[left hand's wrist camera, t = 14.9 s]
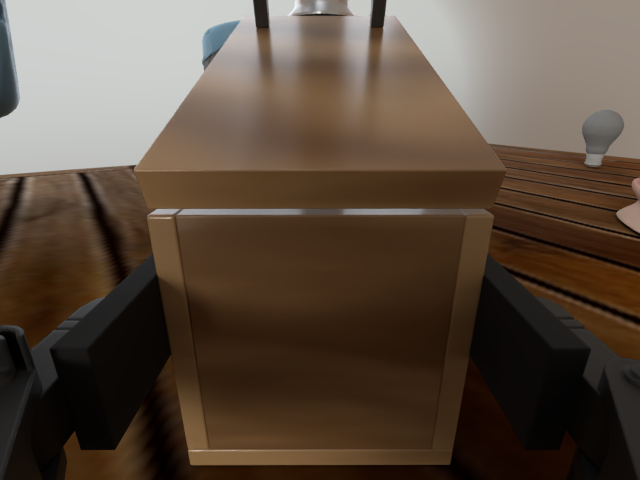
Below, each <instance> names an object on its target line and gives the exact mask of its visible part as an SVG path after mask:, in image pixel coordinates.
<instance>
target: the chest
mask: <svg viewBox="0 0 640 480" xmlns="http://www.w3.org/2000/svg"><path fill="white" fill-rule="evenodd" d="M493 220H494V216H493V215H492V214H491V213H489V212H488V211H486V210H485V209H156V210H155V211H154V212H152V213H151V214H149V215H148V216H147V221H148V227H149V233H150V238H151V244H152V250H153V255H154V261H155V267H156V272H157V278H158V283H159V289H160V295H161V300H162V306H163V312H164V317H165V323H166V329H167V334H168V340H169V345H170V351H171V357H172V362H173V368H174V374H175V379H176V385H177V391H178V396H179V402H180V407H181V413H182V419H183V424H184V430H185V436H186V441H187V447H188V454H189V459H190V464H191V465H449V464H450V462H451V457H452V451H453V449H452V448H453V446H454V440H455V434H456V429H457V423H458V417H459V412H460V406H461V400H462V395H463V389H464V383H465V378H466V372H467V367H468V361H469V355H470V350H471V344H472V338H473V333H474V327H475V321H476V316H477V310H478V305H479V299H480V293H481V288H482V282H483V276H484V271H485V265H486V259H487V254H488V248H489V242H490V237H491V231H492V226H493Z"/></svg>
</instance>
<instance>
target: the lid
mask: <svg viewBox="0 0 640 480" xmlns="http://www.w3.org/2000/svg"><path fill="white" fill-rule="evenodd" d="M253 4H254V14H255V16H244V17H243V18H242V20H241V21H240V22H239V24H238V25H237V27H236V28H235V29H234V31H233V32H232V34H231V35H230V36H229V38H228V39H227V41H226V42H225V43H224V45H223V46H222V48H221V49H220V50H219V52H218V53H217V55H216V56H215V57H214V59H213V60H212V61H211V63H210V64H209V66H208V67H207V68H206V70H205V71H204V73H203V74H202V75H201V77H200V78H199V80H198V81H197V82H196V84H195V85H194V87H193V88H192V89H191V91H190V92H189V94H188V95H187V96H186V98H185V99H184V101H183V102H182V103H181V105H180V106H179V108H178V109H177V110H176V112H175V113H174V115H173V116H172V117H171V119H170V120H169V121H168V123H167V124H166V126H165V127H164V128H163V130H162V131H161V133H160V134H159V135H158V137H157V138H156V140H155V141H154V142H153V144H152V145H151V147H150V148H149V149H148V151H147V152H146V154H145V155H144V156H143V158H142V159H141V161H140V162H139V163H138V165H137V166H136V168H135V169H134V173H135V175H136V178H137V181H138V183H139V186H140V188H141V191H142V193H143V196H144V199H145V201H146V204H147V206H148V208H149V209H491V208H492V207H493V205H494V202H495V200H496V197H497V195H498V192H499V189H500V187H501V184H502V182H503V179H504V177H505V174H506V171H507V170H506V168H505V167H504V165H503V164H502V162H501V161H500V160H499V158H498V157H497V156H496V154H495V153H494V151H493V150H492V149H491V147H490V146H489V144H488V143H487V142H486V140H485V139H484V138H483V136H482V135H481V133H480V132H479V131H478V129H477V128H476V127H475V125H474V124H473V123H472V121H471V120H470V118H469V117H468V116H467V114H466V113H465V111H464V110H463V109H462V107H461V106H460V105H459V103H458V102H457V100H456V99H455V98H454V96H453V95H452V94H451V92H450V91H449V89H448V88H447V87H446V85H445V84H444V82H443V81H442V80H441V78H440V77H439V76H438V74H437V73H436V71H435V70H434V69H433V67H432V66H431V65H430V63H429V62H428V61H427V59H426V58H425V56H424V55H423V54H422V52H421V51H420V49H419V48H418V47H417V45H416V44H415V43H414V41H413V40H412V38H411V37H410V36H409V34H408V33H407V31H406V30H405V29H404V27H403V26H402V25H401V23H400V22H399V20H398V19H397V18H396V16H385V9H386V0H372V2H371V15H370V16H269V8H268V0H253Z"/></svg>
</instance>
